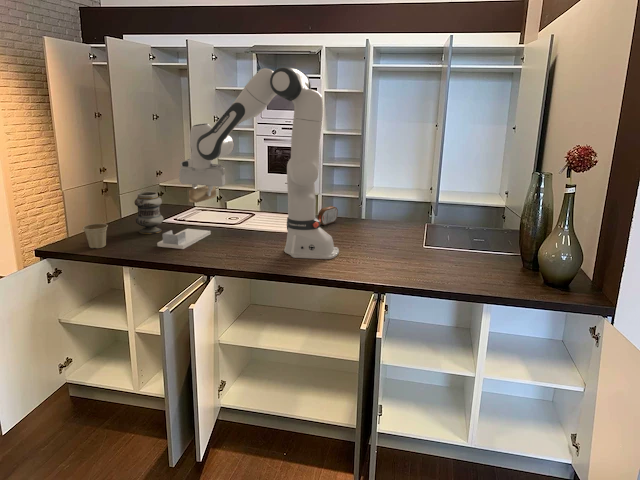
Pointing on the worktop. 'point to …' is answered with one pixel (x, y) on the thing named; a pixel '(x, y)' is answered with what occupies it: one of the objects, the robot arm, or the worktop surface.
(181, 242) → the bracket
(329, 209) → the tin
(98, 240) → the flower pot
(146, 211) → the apothecary jar
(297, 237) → the robot arm
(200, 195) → the rail
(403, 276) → the worktop surface
